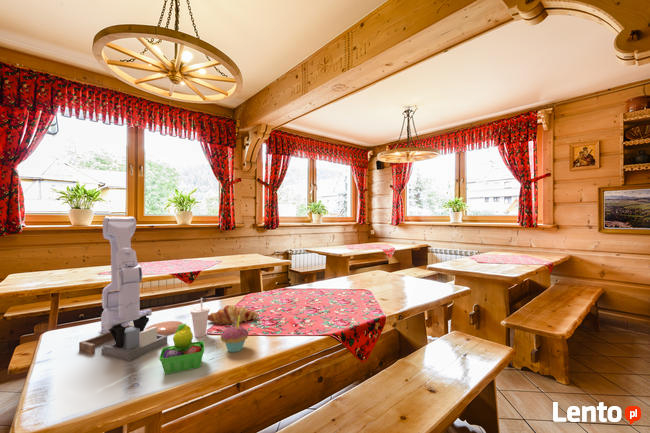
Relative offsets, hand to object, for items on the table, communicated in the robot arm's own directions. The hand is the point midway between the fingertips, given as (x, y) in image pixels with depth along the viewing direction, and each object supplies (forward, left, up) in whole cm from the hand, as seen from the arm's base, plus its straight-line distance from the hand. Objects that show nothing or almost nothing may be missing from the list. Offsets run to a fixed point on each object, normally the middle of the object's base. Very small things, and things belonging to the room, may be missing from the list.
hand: (129, 343), depth 94 cm
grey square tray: (+3, 0, -1) cm, 3 cm away
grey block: (0, 0, -2) cm, 2 cm away
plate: (-2, +15, -1) cm, 15 cm away
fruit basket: (+27, -2, -2) cm, 27 cm away
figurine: (+26, +22, -2) cm, 34 cm away
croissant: (+16, +33, -2) cm, 36 cm away
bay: (-9, 0, -1) cm, 9 cm away
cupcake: (+34, +12, -2) cm, 36 cm away
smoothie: (+15, +16, -2) cm, 22 cm away
